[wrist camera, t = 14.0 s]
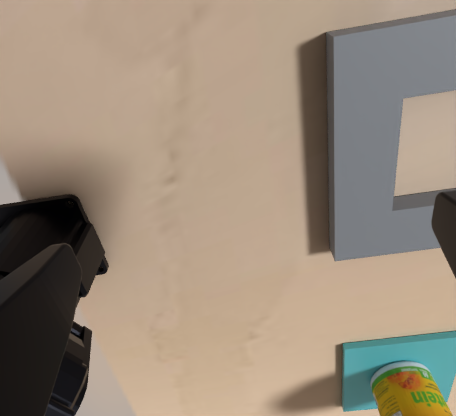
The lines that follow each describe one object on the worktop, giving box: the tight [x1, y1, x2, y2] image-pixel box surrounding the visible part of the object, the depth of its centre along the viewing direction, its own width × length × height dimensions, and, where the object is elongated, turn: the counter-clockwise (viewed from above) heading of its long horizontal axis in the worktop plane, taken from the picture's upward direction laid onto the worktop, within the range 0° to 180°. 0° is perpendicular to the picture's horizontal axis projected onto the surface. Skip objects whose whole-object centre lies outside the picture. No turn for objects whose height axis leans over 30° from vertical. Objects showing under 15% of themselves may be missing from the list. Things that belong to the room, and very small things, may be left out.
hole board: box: [326, 9, 456, 261], centre depth 21 cm, size 14×14×2 cm
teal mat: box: [342, 331, 456, 412], centre depth 34 cm, size 10×10×1 cm
